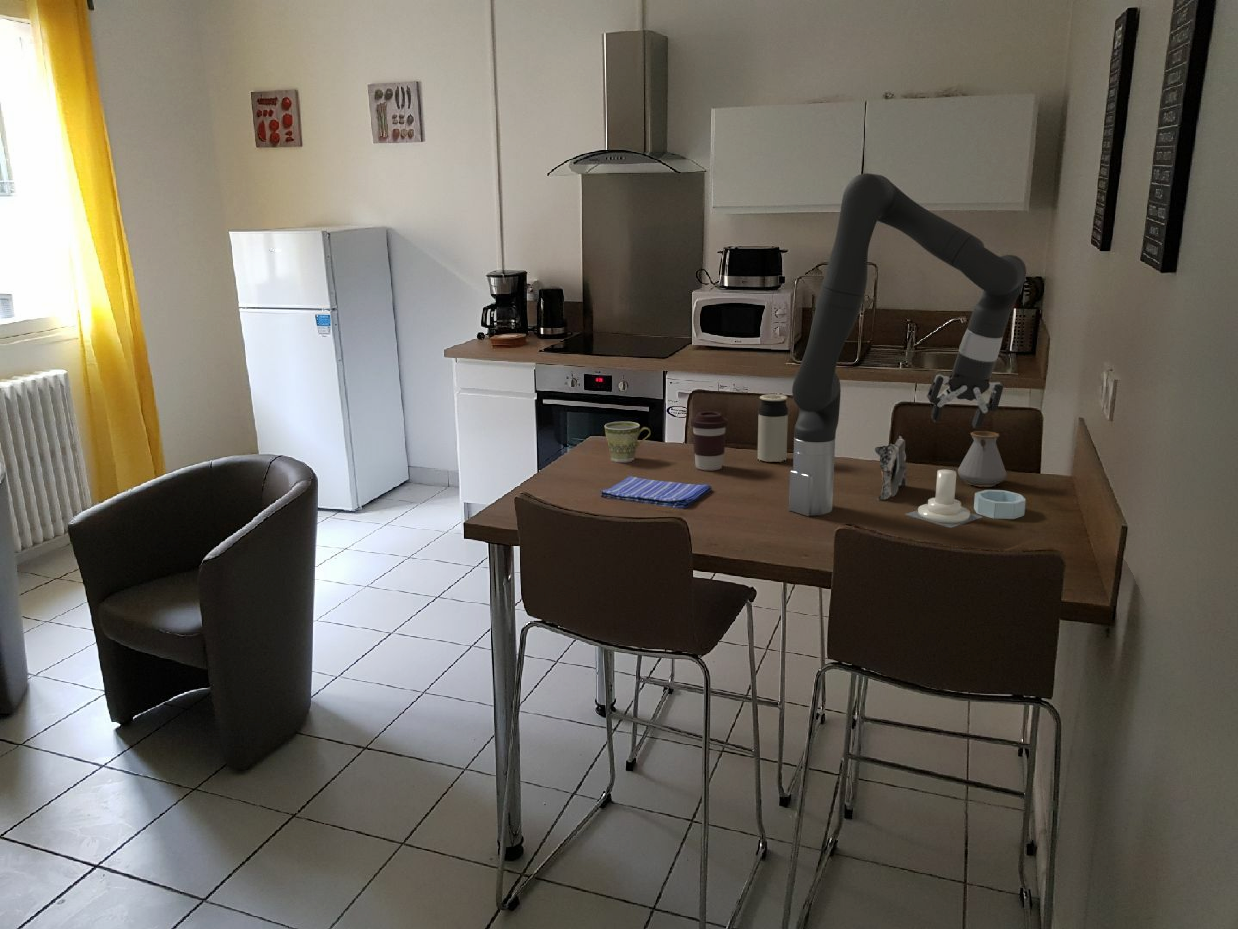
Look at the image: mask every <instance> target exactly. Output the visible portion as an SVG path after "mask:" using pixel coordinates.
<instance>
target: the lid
mask: <svg viewBox="0 0 1238 929" xmlns="http://www.w3.org/2000/svg"><path fill="white" fill-rule="evenodd" d="M957 473H958V471H956V470H953V469H952V470H951V469H938V470H937V474H936V485H935V486H936V487H935V497H931V498H929V499H928V500H927V503H925V504H922V505H920V506H918V508H917V510H918V515H919V516H920V517H921V518H923V519H926V520H929V521H933V522H938V523H962V522H965V521H968V520H969V518H970V513H971V511H970V510H969V509H967V508H966V507H964V506H962V502H961V501H960V500H958V499H955V497H956V496H955V494H956V485H957V484H956V483H957V482H956V480H957Z"/></svg>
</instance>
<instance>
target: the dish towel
mask: <svg viewBox="0 0 1238 929" xmlns="http://www.w3.org/2000/svg"><path fill="white" fill-rule="evenodd" d="M711 490H712V486H711V485H710V484H693V483H682V482H674V481H662V480H655V479H645V478H640V477H636V476H627V478H625V479H623V480H622V481H619V482H618V483H617V484H615V485H613V486H612V487H610V488H606V489H602V490H600V497H601V498H602V497H604V498H607V499H612V500H613V499H614V500H620V501H626V502H627V501H628V502H633V503H640V504H647V505H653V506H654V505H655V506H659V507H669V508H674V509H676V508H677V509H685V508H686V509H687V508H688V507H689V506H692V504H694V503H695V502H696V501H698V500H699V499H701V498H703V497H704V496H705V495H706V494H708V493H709V492H711Z"/></svg>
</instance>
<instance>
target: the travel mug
mask: <svg viewBox="0 0 1238 929" xmlns="http://www.w3.org/2000/svg"><path fill="white" fill-rule="evenodd" d="M759 399H760V402H761V403H760V405H759V407H758V426H757V431H758V433H757V460H758V459H759V461H760V460H763V461H770V462H771V461H782V460H785V461H786V460H787V454H788V453H787V449H788V422H789V420H788V418H789V415H788V414H789V411H788V410H789V408H788V406H787V399H788V396H787V395H784V394H775V393H773V394H763V395H760V396H759Z"/></svg>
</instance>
